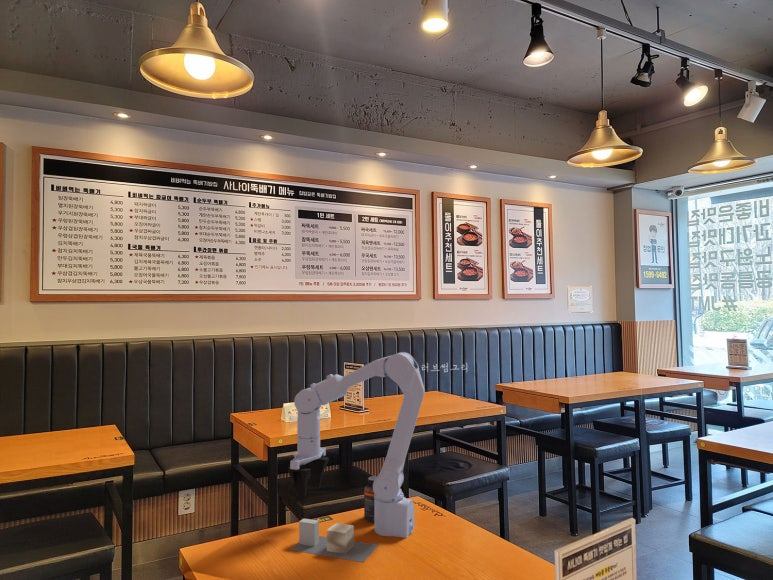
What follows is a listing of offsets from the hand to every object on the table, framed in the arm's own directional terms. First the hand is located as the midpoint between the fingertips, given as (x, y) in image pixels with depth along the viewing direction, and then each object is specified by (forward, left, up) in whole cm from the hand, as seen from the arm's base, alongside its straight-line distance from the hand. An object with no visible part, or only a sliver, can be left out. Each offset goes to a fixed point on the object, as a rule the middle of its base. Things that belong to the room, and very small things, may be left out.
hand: (308, 491), depth 132 cm
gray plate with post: (-12, +10, -9) cm, 18 cm away
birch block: (-13, +10, -8) cm, 18 cm away
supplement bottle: (-14, -10, -10) cm, 20 cm away
